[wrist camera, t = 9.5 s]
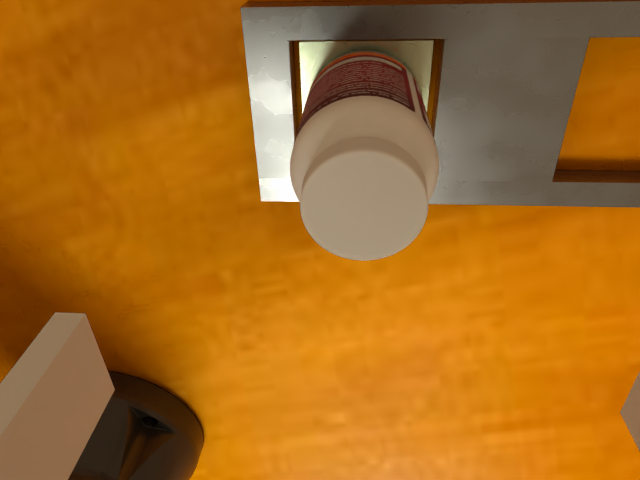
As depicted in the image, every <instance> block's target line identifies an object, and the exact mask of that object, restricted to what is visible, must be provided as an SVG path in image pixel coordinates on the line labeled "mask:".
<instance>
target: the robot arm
mask: <svg viewBox="0 0 640 480" xmlns="http://www.w3.org/2000/svg"><path fill="white" fill-rule="evenodd" d="M620 413H621V415H622V417H623V419H624V421H625V423H626V425H627V427H628V429H629V431H630V433H631V435H632V437H633V439H634V441H635V443H636V445H637V447H638V449H639V451H640V372H639V374H638V376H637V378H636V380H635V382H634V384H633V387H632V389H631V391H630V393H629V395H628V397H627V399H626V401H625V403H624V405H623V407H622V409H621V411H620ZM202 447H203V432H202V429H201V426H200V424H199V422H198V420H197V419H196V417H195V416H194V415H193V413H192V412H191V411H190V410H189V409H188V408H187V407H186V406H185V405H184V404H183V403H182V402H181V401H180V400H178V399H177V398H176V397H174V396H173V395H171V394H170V393H168V392H167V391H165V390H163V389H161V388H159V387H157V386H155V385H153V384H151V383H149V382H146V381H144V380H141V379H138V378H135V377H132V376H128V375H124V374H119V373H113V372H108V370H107V368H106V365H105V363H104V360H103V357H102V355H101V352H100V350H99V347H98V344H97V342H96V339H95V337H94V334H93V332H92V329H91V326H90V324H89V321H88V319H87V316H86V313H59V312H55V313H54V314H53V316H52V317H51V318H50V320H49V321H48V322H47V324H46V325H45V326H44V327H43V329H42V330H41V331H40V333H39V334H38V335H37V337H36V338H35V339H34V340H33V342H32V343H31V344H30V346H29V347H28V348H27V350H26V351H25V352H24V353H23V355H22V356H21V357H20V359H19V360H18V361H17V363H16V364H15V365H14V366H13V368H12V369H11V370H10V372H9V373H8V374H7V376H6V377H5V378H4V379H3V381H2V382H1V383H0V480H189V479H190V478H191V476H192V475H193V473H194V471H195V469H196V466H197V463H198V460H199V457H200V453H201V450H202Z"/></svg>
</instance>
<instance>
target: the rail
mask: <svg viewBox="0 0 640 480" xmlns="http://www.w3.org/2000/svg"><path fill="white" fill-rule="evenodd" d="M241 17H242V26H243V36H244V45H245V55H246V64H247V73H248V83H249V92H250V102H251V111H252V120H253V130H254V139H255V149H256V158H257V167H258V177H259V186H260V196H261V201H283V202H299V200H298V199H297V197H296V194H295V192H294V189H293V186H292V182H291V177H290V159H291V153H292V149H293V145H294V141H295V138H296V135H297V131H298V128H297V110H296V91H295V73H294V55H293V40H350V41H299V52H300V72H301V93H302V114H303V110H304V107H305V103H306V100H307V96H308V93H309V90H310V88H311V86H312V84H313V82H314V80H315V78H316V77H317V75H318V74H319V72H320V71H321V70H322V69H323V68H324V67H325V66H326V65H327V64H329V63H330V62H331V61H333V60H334V59H336V58H337V57H339V56H342V55H344V54H347V53H350V52H354V51H362V50H368V51H376V52H381V53H384V54H387V55H389V56H391V57H393V58H395V59H397V60H398V61H400V62H401V63H402V64H403V65H404V66H406V67H407V69H408V70H409V71H410V72H411V74H412V75H413V76H414V78H415V80H416V82H417V84H418V86H419V88H420V91H421V95H422V98H423V102H424V105H425V109H426V112H427V106H428V96H429V85H430V75H431V64H432V54H433V43H434V40H379V39H440V48H439V58H438V68H437V78H436V87H435V97H434V107H433V117H432V126H431V129H432V133H433V136H434V139H435V143H436V147H437V152H438V158H439V175H438V180H437V184H436V187H435V190H434V192H433V195H432V197H431V198H430V200H429V202H428V204H466V205H527V206H588V207H640V171H591V170H555V168H556V164H557V161H558V157H559V153H560V149H561V145H562V141H563V138H564V134H565V130H566V126H567V122H568V118H569V115H570V111H571V107H572V103H573V99H574V95H575V92H576V88H577V84H578V80H579V76H580V72H581V69H582V65H583V61H584V57H585V53H586V49H587V46H588V42H589V38H590V37H640V0H364V1H305V2H247V3H246V4H244V5H243V6H242V7H241Z"/></svg>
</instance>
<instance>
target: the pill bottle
mask: <svg viewBox="0 0 640 480" xmlns="http://www.w3.org/2000/svg"><path fill="white" fill-rule="evenodd" d="M438 175H439V158H438V152H437V147H436V143H435V139H434V136H433V133H432V129H431V126H430V123H429V119H428V116H427V112H426V109H425V105H424V102H423V98H422V95H421V91H420V88H419V86H418V84H417V82H416V80H415V78H414V76H413V75H412V74H411V72H410V71H409V70H408V69H407V67H406V66H404V65H403V64H402V63H401V62H400V61H398V60H397V59H395V58H393V57H391V56H389V55H387V54H384V53H381V52H376V51H368V50H362V51H354V52H350V53H347V54H344V55H342V56H339V57H337V58H336V59H334V60H333V61H331V62H330V63H329V64H327V65H326V66H325V67H324V68H323V69H322V70H321V71H320V72H319V74H318V75H317V77H316V78H315V80H314V82H313V84H312V86H311V88H310V90H309V93H308V96H307V100H306V103H305V107H304V110H303V114H302V117H301V121H300V124H299V128H298V131H297V135H296V138H295V141H294V145H293V149H292V153H291V159H290V177H291V182H292V186H293V189H294V192H295V194H296V197H297V199H298V200H299V202H300V211H301V217H302V220H303V223H304V225H305V227H306V229H307V231H308V233H309V234H310V235H311V237H312V238H313V239H314V240H315V241H316V242H317V243H318V244H319V245H320V246H321V247H323V248H324V249H326V250H327V251H329V252H331V253H333V254H335V255H337V256H340V257H343V258H347V259H352V260H363V261H365V260H376V259H381V258H385V257H388V256H391V255H393V254H395V253H397V252H399V251H401V250H402V249H404V248H405V247H406V246H408V245H409V244H410V243H411V242H412V241H413V240H414V239H415V238H416V237H417V235H418V234H419V233H420V231H421V229H422V228H423V226H424V223H425V221H426V218H427V213H428V202H429V200H430V198H431V197H432V195H433V192H434V190H435V187H436V184H437V180H438Z"/></svg>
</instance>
